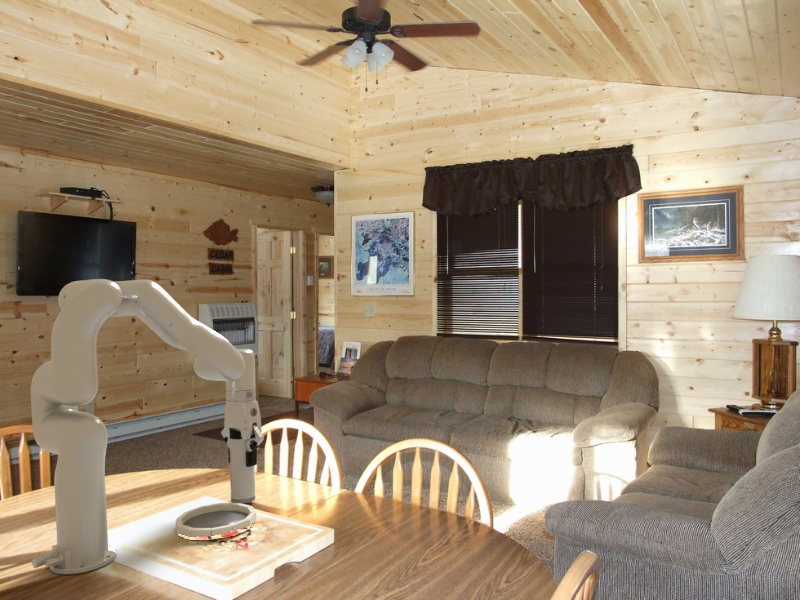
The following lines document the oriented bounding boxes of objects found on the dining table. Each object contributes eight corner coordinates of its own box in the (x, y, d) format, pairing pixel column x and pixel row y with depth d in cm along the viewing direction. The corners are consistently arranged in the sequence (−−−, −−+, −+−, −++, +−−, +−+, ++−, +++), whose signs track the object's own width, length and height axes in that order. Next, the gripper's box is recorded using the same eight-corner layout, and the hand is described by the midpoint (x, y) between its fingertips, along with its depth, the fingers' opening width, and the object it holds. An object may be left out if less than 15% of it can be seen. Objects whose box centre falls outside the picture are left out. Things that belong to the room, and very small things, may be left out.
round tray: (209, 547, 139) (209, 535, 139) (161, 531, 149) (160, 520, 149) (270, 520, 153) (270, 510, 153) (222, 508, 164) (222, 498, 164)
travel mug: (258, 496, 170) (257, 421, 170) (250, 504, 163) (248, 426, 163) (236, 496, 170) (234, 422, 171) (227, 503, 164) (225, 426, 164)
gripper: (274, 396, 165) (276, 465, 165) (230, 392, 175) (232, 457, 175) (252, 400, 159) (253, 471, 159) (208, 395, 169) (210, 463, 169)
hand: (242, 463), depth 167 cm, fingers closed on travel mug, 6 cm apart
